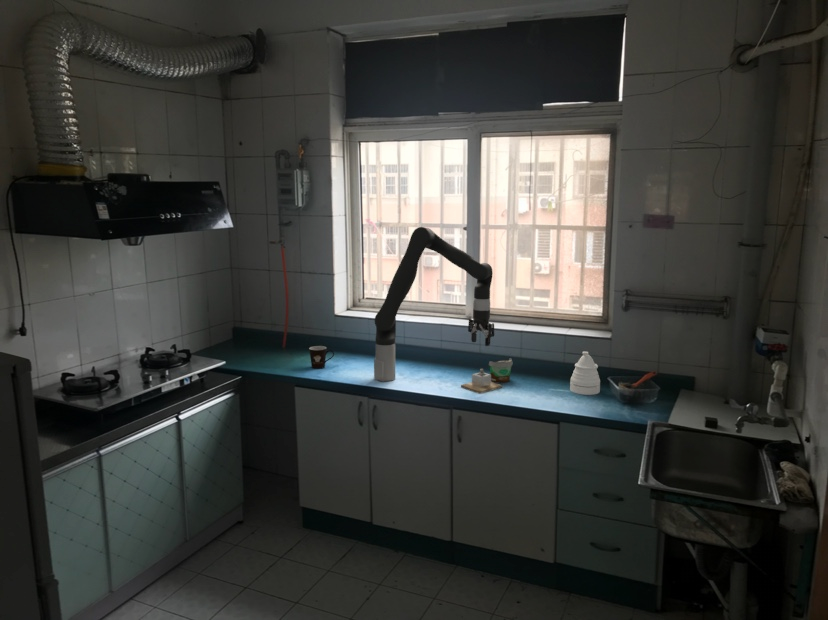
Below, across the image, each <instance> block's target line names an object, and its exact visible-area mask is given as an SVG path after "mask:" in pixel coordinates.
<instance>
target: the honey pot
mask: <svg viewBox="0 0 828 620" xmlns="http://www.w3.org/2000/svg"><path fill="white" fill-rule="evenodd" d="M574 367H575V368H574V370H573V371H572V372H573V373H572V375H571V377H570V382H569V390H570V391H571V392H572V393H574V394H578V395H585V396H587V395H588V396H591V395H597V394H600V391H601V379H600V375H599V372H598V370H597V369H598V367H599V365H598V364H597V363H595V361H594V358H593V357H592V356H591V355H590V354H589V351H582V355H581V357H580V358H579V359H578V361H577V362H576V363H575V364H574Z"/></svg>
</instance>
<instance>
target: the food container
mask: <svg viewBox="0 0 828 620" xmlns="http://www.w3.org/2000/svg"><path fill="white" fill-rule="evenodd" d="M513 364H514V363H513V360H512V358H511V357H510V358H508V359H507V360H497V361H491V360H489V362H488V366H489V374H490V375H491V382H493V383H496V384H507V383H509V382H510V379H511V373H512V372H511V371H512V370H511V369H512V366H513Z"/></svg>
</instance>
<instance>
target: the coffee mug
mask: <svg viewBox="0 0 828 620" xmlns="http://www.w3.org/2000/svg"><path fill="white" fill-rule="evenodd" d="M308 350H309V356H310V364H311V368H312V370H322V369H325V366H326V363H327V362H328V361H329V360H331V359H332V358H333V357H334V355H335V352H334V351H333V350H331V349H329V350H327V347H326V346H323V345H315V346H310V347H309V348H308ZM329 352H331V353H332V356H330V357H329V358H328V359H326V355H327V354H328V353H329Z"/></svg>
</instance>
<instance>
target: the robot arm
mask: <svg viewBox="0 0 828 620" xmlns="http://www.w3.org/2000/svg"><path fill="white" fill-rule="evenodd" d="M426 249H428V250H431V251H434V252H435V253H438V254H440V255H441V256H442V257H444V258H445V259H446V260H447V261H449V262H450V263H452V265H455V266H457V267H458V268H460V269H462V270H464V271H465V272H466V273H467V274H468V275H469V276H471V277H472V278H474V279H476V285H475V286H474V288H473V303H472V306H473V307H472V318H469V319H468V326H467V327H468V328H467V331H468V332H469V333H470V335H471V343H476V342H477V337H478V336H477V333H478V332H479V331H480V332H482V334H484V336H485V339H484V345H485V347H488V346H490V345H491V339H492V337H493V338H494V336H495V323H494V322H491V323H490V322H489V320H490V319H491V285H492V280H493V268H492V266H491V264H490V263H487V262H482V263H480V262H478V261H477V260H475V259H474V256H472V255H471V254H468V253H467V252H466V251H463V250H462V249H460V248H458V247H456V246H454V245H452V244H451V243H450V242H448V241H445V239H443V238H441V237H440V236H438V234H437V233H435V232H434V231H433V230H432V229H431V228H428V227H425V226H420V227H417V228H415V229H414V230H413V232H412V234H411V235H410V238H409V242H408V244H407V246H406V250H405V253H404V254H403V257H402V259H401V261H400V263H399V265H398V267H397V269H396V271H395V273H394V276H393V278H392V281H391V282H390V286H389V288H388V291H387V294H386V297H385V300H384V302H383V304H382V305H381V306H380V309H379V311H378V312H377V313H376V315H375V316H374V324H375V327H376V329H375V331H376V332H375V358H374V360H373V374H374V375H373V378H374V380H377V381H380V382H390V381H394V380H395V379H396V335H397V334H396V333H397V329H396V327H397V326H396V325H397V320H396V319H397V318H396V317H397V314H398V312H399V309H400V307H401V305H402V303H403V302H404V301H405V299H406V297H407V296H408V294H409V292H410V290H411V288H412V287H413V284H414V282H415V280H416V277H417V273H418V266H419V262H420V260H421V257H422V255H423V253H424V251H425V250H426Z"/></svg>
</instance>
